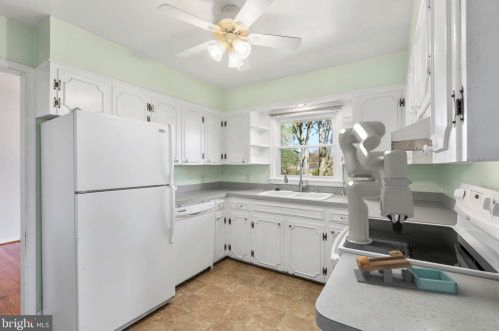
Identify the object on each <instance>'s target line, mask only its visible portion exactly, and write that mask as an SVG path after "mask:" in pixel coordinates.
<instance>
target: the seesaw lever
mask: <svg viewBox="0 0 499 331" xmlns="http://www.w3.org/2000/svg"><path fill="white" fill-rule="evenodd" d="M388 254H389V255H390V256H381V257H373V258H369V257H368V259H369V264H368V265H362V264H361V263H360V261H359V259H360V258H359V257H357V258H356V257H355V261H356V265H357V267H358V268H357V269H359V270H360V272H366V271H378V270H383V269H392V270H399V269H407V268H412V267H413V264H412V263H411V261H409V260H408V259H407V257H406V255H404V254H403V253H402V252H401V251H400V250H392V251H388Z"/></svg>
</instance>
